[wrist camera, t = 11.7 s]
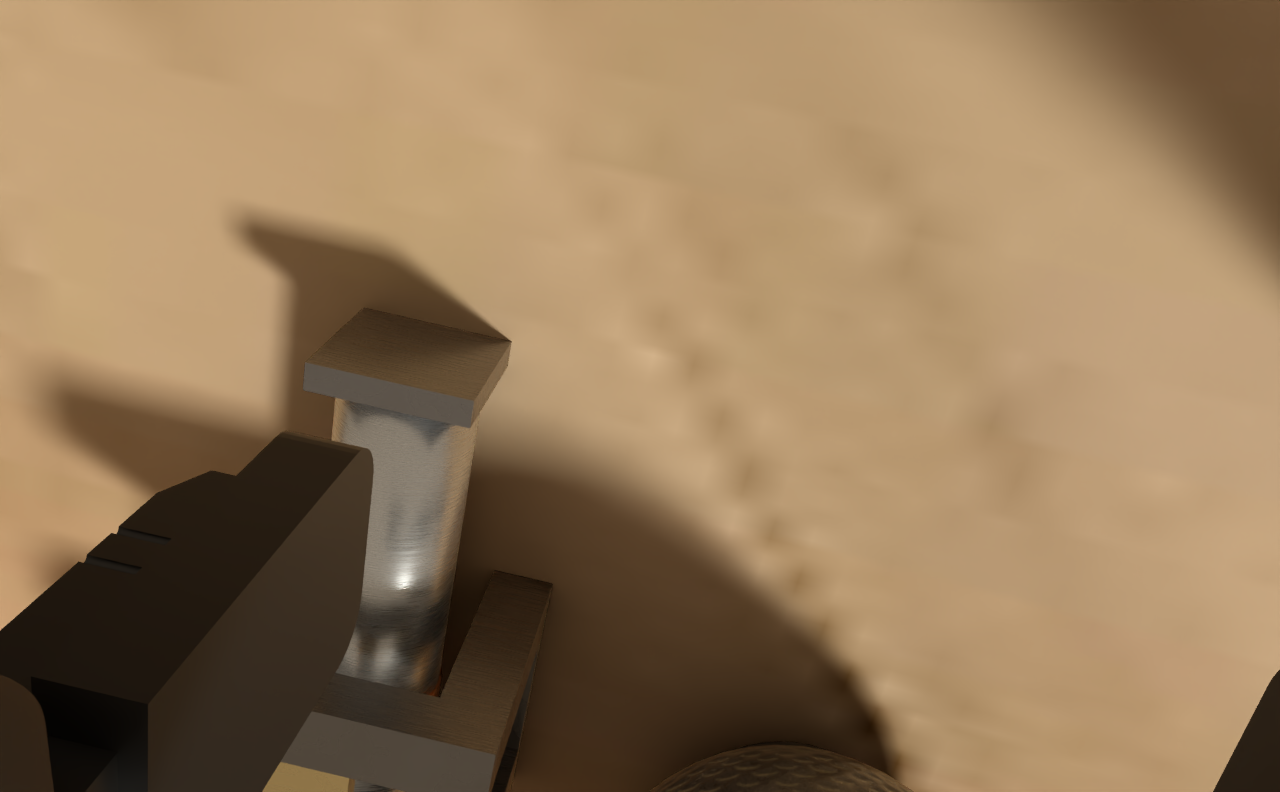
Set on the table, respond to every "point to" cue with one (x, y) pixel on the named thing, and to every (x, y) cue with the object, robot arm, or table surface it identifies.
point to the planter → (780, 772)
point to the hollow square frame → (431, 712)
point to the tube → (407, 479)
